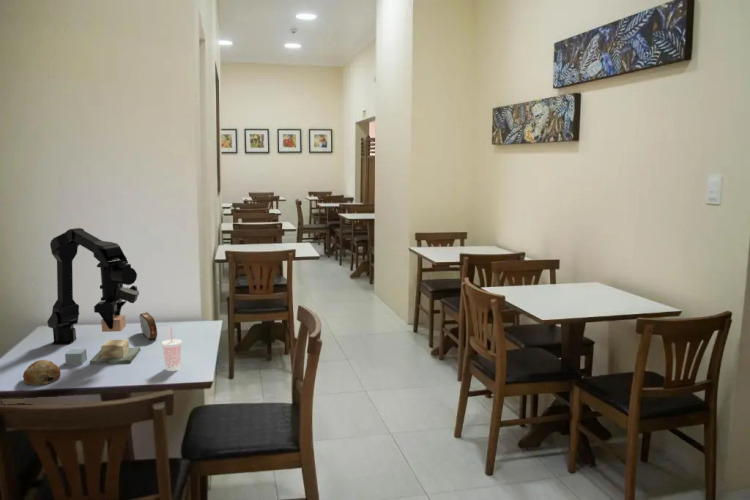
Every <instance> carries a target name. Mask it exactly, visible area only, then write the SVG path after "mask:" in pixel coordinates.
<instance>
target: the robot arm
mask: <svg viewBox="0 0 750 500" xmlns="http://www.w3.org/2000/svg"><path fill="white" fill-rule="evenodd" d="M49 245H50V250H51V254H52V256H53V258H54V259H55V261H56V278H57V279H56V281H57V283H56V284H57V285H56V286H57V287H56V289H57V292H56V293H57V299H56V300H55V302H54V304H53V306H52V311H51V315H50V317H48V319H47V326H48V328H51V329H52V334H53V342H52V343H51V345H66V344H67V345H68V344H69V345H71V344H72V343H73V342H74V341H76V340H77V332H76V328H75V327H74V326H75V325H77V324H78V321H79V316H80V311H79V310H80V305H79V304H78V303H77V302H76V301H75V300H74V295H73V294H74V293H73V292H74V291H73V290H74V289H73V287H74V286H73V275H74V274H73V260H74V259H75V258H76V256H77V255H78V249H79V246H81V247H83V248H85V249H86V250H88V251H89V252H91V253H93V258H95V259H96V260H97V261H98V264H97V265H96V267H97V268H100V279H101V281H100V283H101V284H100V285H99V289H100V290H101V297H100V301H99V302H97V303H96V304H95V305H94V306H93V313H97V314H99V315H100V317H101V318H102V319H103V320H104V321H105V323H106V325H107V326H108V328H109V329H113V323H114V315H121V312H122V311H121V310H122V308H123V307H124V305H125V304H126V303H127V302H128V303H130V304H134V303H135V302H136V301H137V299H138V296H139V295H140V290H138V286H136V285H133V284H134V283H135V282H136V281H137V277H138V273H137V271H136V269H134V268H133V267H132V265H131V263H129V262H128V260H127V258H128V257H126V255H125V254H124V252H123V249H122V248H121V246H120V245H119V244H118V243H116V242H113V241H105V240H101V239H100V238H98V237H96V236H94V235H92V234H91V233H89V232H88V231H86V230H85V229H84V228H81V227H76V228H70V229H68V230H66V231H65V232H63V233H61V234H59V235H57V236H55V237H53V239H51V240H50V244H49ZM124 285H125V286H130V285H132V286H131V287H124Z"/></svg>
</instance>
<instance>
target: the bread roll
mask: <svg viewBox="0 0 750 500" xmlns="http://www.w3.org/2000/svg"><path fill="white" fill-rule="evenodd" d="M60 377H61V369H60V366H58V365H57V364H56V363H54V362H53V361H51V360H48V359H47V360H46V359H42V360H41V359H40V360H36V361H33V363H31V364H29V366H27V368H26V370H24V371H23V375H22V378H23V382H24V383H25V384H26V385H31V386H41V385H47V384H50V383H54V382H55V381H57V380H59V379H60Z"/></svg>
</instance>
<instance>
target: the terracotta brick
mask: <svg viewBox="0 0 750 500" xmlns="http://www.w3.org/2000/svg"><path fill="white" fill-rule="evenodd" d="M126 322H127V321H126V315H125V314H120V315H114V323H113V329H109V328H108V326H107V325H106V323H105V321H104V320H103V318H102V319H101V320H100V323H101V332H102V333H103V332H104V333H106V332H121V331H123V330H124V329H125V328H126V326H127V325H126V324H127V323H126Z"/></svg>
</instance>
